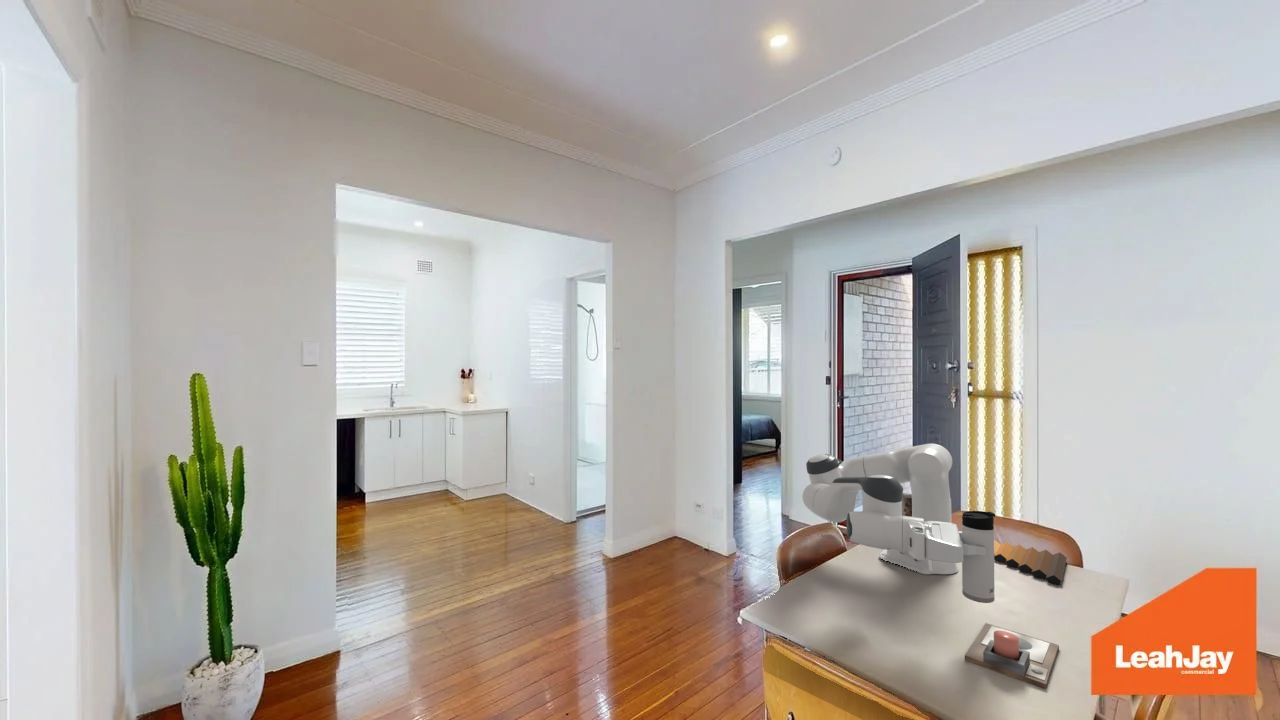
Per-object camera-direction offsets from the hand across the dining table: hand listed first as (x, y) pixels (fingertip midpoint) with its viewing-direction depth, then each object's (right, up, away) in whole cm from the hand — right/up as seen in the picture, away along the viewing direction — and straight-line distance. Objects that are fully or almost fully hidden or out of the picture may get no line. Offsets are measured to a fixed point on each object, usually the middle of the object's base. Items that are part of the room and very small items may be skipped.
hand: (983, 545), depth 117 cm
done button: (-2, -20, -10) cm, 22 cm away
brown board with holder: (+3, -23, -5) cm, 23 cm away
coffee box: (+22, -24, +72) cm, 79 cm away
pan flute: (+43, -24, +47) cm, 68 cm away
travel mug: (-1, -13, 0) cm, 13 cm away
